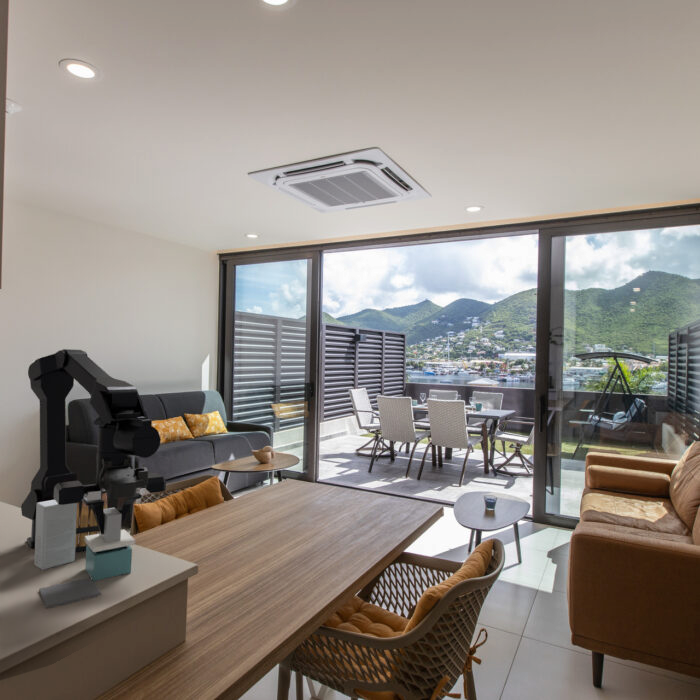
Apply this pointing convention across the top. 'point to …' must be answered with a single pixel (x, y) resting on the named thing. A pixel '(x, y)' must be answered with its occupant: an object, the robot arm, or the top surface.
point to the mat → (69, 592)
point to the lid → (110, 533)
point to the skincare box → (55, 534)
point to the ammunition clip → (86, 525)
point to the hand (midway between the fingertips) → (109, 532)
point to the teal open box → (108, 562)
